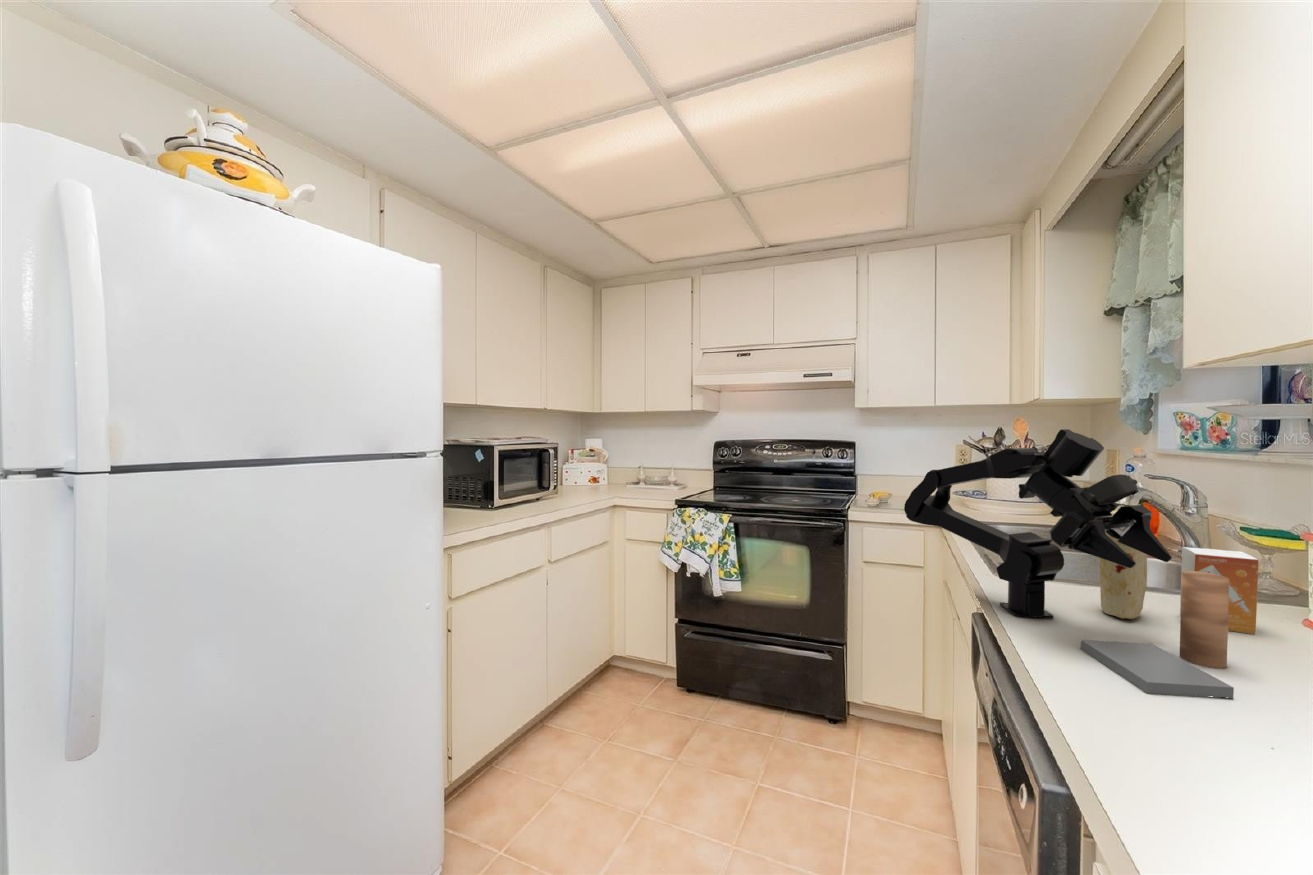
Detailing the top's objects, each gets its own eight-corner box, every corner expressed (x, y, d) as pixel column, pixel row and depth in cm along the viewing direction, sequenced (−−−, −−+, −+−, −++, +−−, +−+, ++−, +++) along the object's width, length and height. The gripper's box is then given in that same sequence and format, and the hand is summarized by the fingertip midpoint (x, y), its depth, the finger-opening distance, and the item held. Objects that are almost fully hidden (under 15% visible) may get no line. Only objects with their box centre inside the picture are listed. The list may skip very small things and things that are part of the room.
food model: (1149, 627, 94) (1151, 514, 93) (1099, 618, 98) (1102, 510, 97) (1144, 611, 101) (1146, 506, 101) (1098, 604, 106) (1100, 503, 105)
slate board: (1080, 648, 85) (1080, 639, 85) (1151, 652, 83) (1151, 643, 83) (1146, 693, 71) (1147, 682, 71) (1233, 698, 70) (1233, 687, 70)
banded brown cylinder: (1170, 652, 84) (1172, 570, 83) (1207, 654, 83) (1209, 571, 82) (1197, 667, 79) (1200, 579, 78) (1236, 669, 78) (1239, 581, 77)
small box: (1192, 626, 94) (1194, 553, 94) (1179, 615, 100) (1180, 545, 99) (1257, 635, 90) (1259, 559, 90) (1240, 623, 96) (1242, 550, 95)
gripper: (1055, 462, 87) (1151, 530, 75) (1127, 458, 94) (1225, 521, 82) (1017, 512, 93) (1100, 583, 81) (1087, 506, 100) (1173, 570, 88)
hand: (1151, 563), depth 83 cm, fingers open, 9 cm apart
